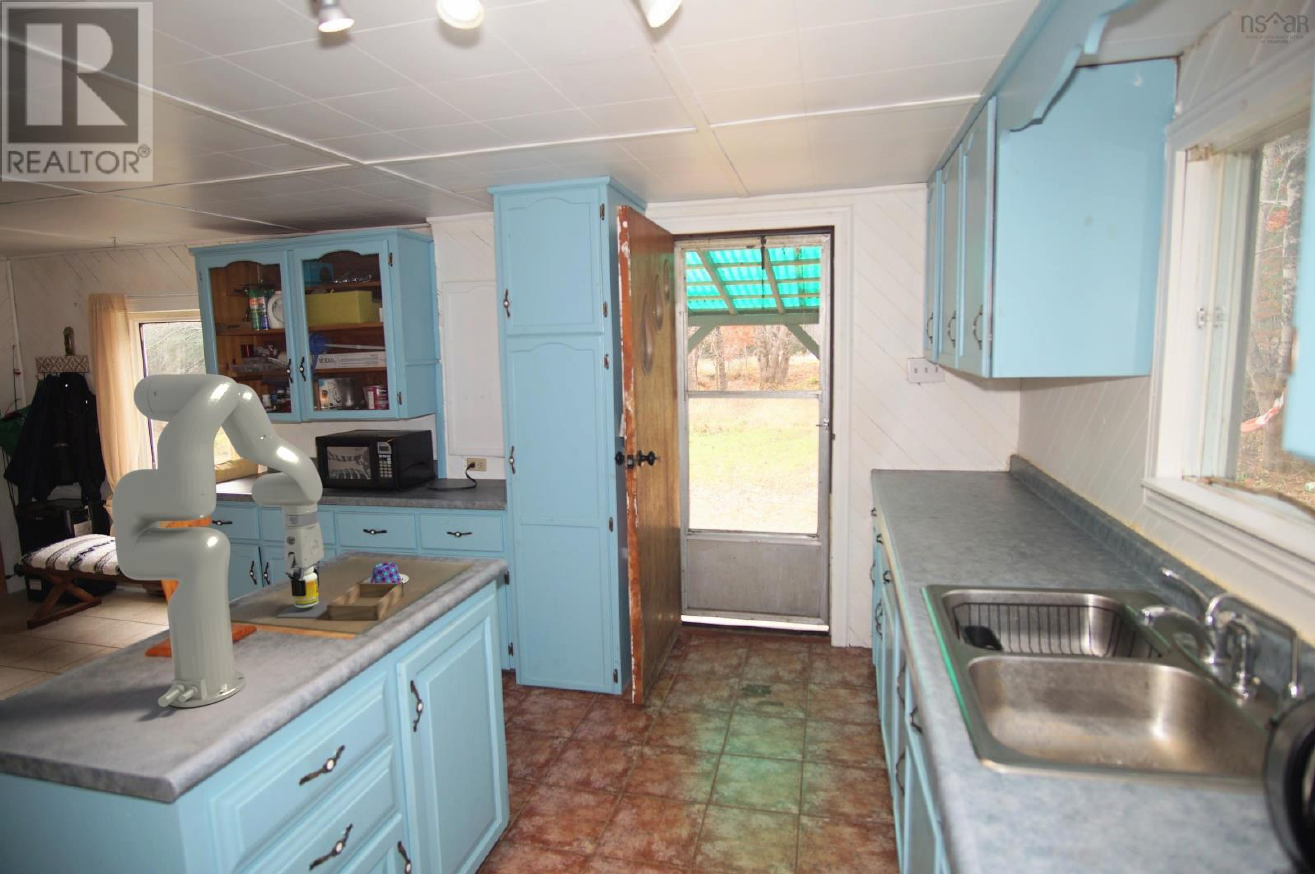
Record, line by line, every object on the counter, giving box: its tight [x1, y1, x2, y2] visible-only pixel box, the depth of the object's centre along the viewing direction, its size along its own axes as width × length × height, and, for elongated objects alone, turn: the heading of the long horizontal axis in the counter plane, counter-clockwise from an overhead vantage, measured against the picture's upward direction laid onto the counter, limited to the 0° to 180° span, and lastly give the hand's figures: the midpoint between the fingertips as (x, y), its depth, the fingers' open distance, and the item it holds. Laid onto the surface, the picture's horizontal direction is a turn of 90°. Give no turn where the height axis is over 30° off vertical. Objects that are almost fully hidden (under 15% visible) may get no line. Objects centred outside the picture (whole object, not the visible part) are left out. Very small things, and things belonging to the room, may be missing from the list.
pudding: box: [362, 561, 410, 584], centre depth 189 cm, size 12×12×5 cm
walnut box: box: [326, 582, 405, 621], centre depth 172 cm, size 16×12×4 cm
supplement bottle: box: [293, 565, 320, 608], centre depth 169 cm, size 5×5×10 cm
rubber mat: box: [275, 600, 334, 619], centre depth 170 cm, size 10×10×1 cm
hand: (306, 590), depth 169 cm, fingers closed on supplement bottle, 5 cm apart
